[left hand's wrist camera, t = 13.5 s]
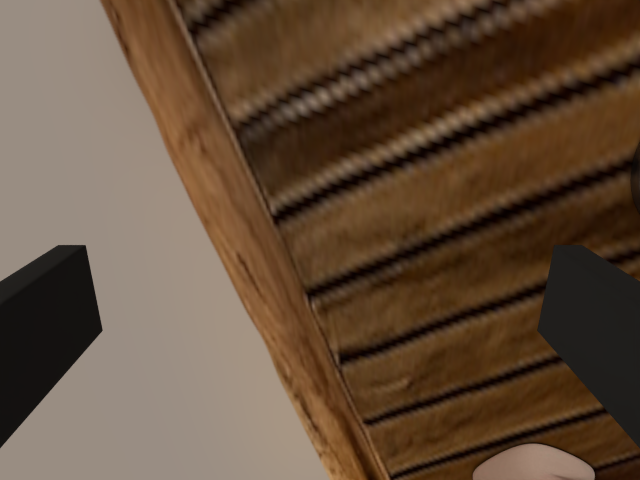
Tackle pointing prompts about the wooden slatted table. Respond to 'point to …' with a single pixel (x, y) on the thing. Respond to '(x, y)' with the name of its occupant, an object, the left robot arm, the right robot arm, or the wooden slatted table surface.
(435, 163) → the wooden slatted table surface
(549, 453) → the anatomical model
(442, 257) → the wooden slatted table surface
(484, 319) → the wooden slatted table surface
